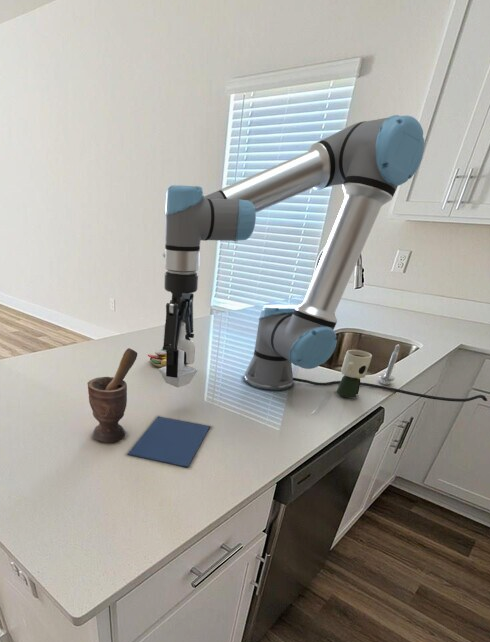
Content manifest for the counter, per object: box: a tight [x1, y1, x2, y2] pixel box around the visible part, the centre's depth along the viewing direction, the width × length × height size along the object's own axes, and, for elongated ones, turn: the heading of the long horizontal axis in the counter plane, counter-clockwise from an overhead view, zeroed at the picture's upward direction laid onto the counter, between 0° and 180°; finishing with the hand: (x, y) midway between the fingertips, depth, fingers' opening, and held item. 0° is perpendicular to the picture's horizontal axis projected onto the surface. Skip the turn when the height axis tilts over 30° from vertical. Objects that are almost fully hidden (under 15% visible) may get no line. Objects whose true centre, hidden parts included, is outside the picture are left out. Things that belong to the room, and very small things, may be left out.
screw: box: [378, 343, 401, 386], centre depth 130 cm, size 13×5×5 cm
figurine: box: [157, 322, 199, 388], centre depth 100 cm, size 7×9×15 cm
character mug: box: [336, 349, 373, 399], centre depth 120 cm, size 11×7×13 cm, turn 135°
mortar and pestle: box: [86, 347, 138, 443], centre depth 92 cm, size 12×9×20 cm
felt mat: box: [127, 416, 211, 468], centre depth 96 cm, size 14×20×1 cm
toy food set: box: [147, 348, 186, 369], centre depth 139 cm, size 13×13×3 cm
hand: (178, 369), depth 102 cm, fingers closed on figurine, 9 cm apart
